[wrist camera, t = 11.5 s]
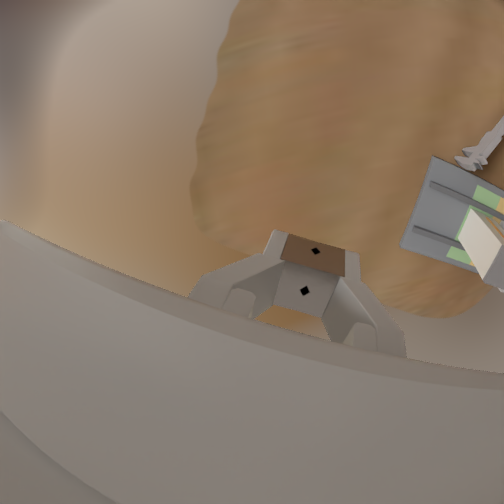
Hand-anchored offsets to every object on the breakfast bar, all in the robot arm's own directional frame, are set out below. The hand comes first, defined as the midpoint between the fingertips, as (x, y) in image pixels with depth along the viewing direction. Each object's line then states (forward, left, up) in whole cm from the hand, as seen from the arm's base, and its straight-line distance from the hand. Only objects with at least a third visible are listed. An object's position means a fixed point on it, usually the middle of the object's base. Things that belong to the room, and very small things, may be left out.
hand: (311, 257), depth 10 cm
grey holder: (+5, +23, -28) cm, 37 cm away
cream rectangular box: (+5, +25, -27) cm, 37 cm away
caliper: (-11, +23, -29) cm, 39 cm away
